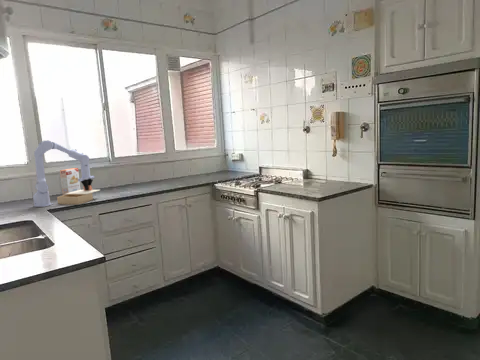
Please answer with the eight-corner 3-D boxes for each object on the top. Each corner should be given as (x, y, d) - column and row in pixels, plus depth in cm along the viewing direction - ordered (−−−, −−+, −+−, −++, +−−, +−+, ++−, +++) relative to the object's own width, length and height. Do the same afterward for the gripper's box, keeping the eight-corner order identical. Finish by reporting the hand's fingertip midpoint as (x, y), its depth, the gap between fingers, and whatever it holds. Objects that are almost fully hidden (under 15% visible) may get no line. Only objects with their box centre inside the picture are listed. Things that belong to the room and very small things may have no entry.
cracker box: (69, 197, 250) (65, 170, 247) (62, 197, 252) (58, 170, 248) (81, 193, 264) (78, 167, 261) (75, 194, 265) (71, 168, 262)
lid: (65, 194, 234) (64, 188, 234) (80, 190, 248) (79, 185, 247) (86, 194, 229) (85, 188, 229) (100, 190, 243) (99, 184, 242)
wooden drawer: (58, 204, 227) (57, 197, 227) (73, 199, 241) (72, 192, 240) (78, 204, 223) (77, 197, 222) (93, 199, 236) (92, 192, 235)
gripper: (83, 172, 233) (85, 191, 235) (97, 169, 247) (99, 187, 249) (74, 172, 235) (77, 191, 237) (89, 170, 249) (91, 187, 251)
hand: (87, 189), depth 243 cm, fingers closed on lid, 2 cm apart
